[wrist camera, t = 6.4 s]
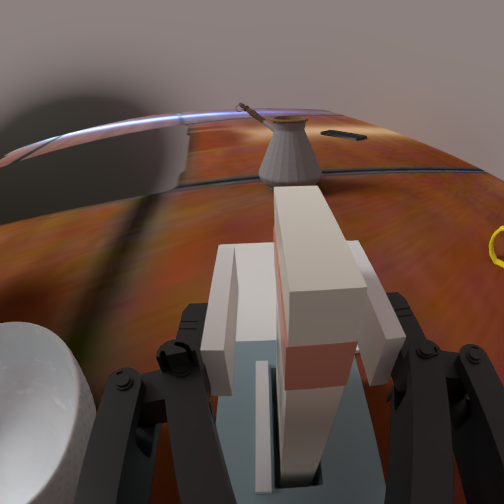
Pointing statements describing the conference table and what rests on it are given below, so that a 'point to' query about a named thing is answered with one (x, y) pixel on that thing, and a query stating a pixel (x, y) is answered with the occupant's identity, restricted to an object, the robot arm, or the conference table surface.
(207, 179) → the conference table surface
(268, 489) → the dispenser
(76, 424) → the cereal bowl
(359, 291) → the pink striped white block
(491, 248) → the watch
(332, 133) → the phone
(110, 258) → the conference table surface
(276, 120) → the coffee pot
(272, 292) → the mat
